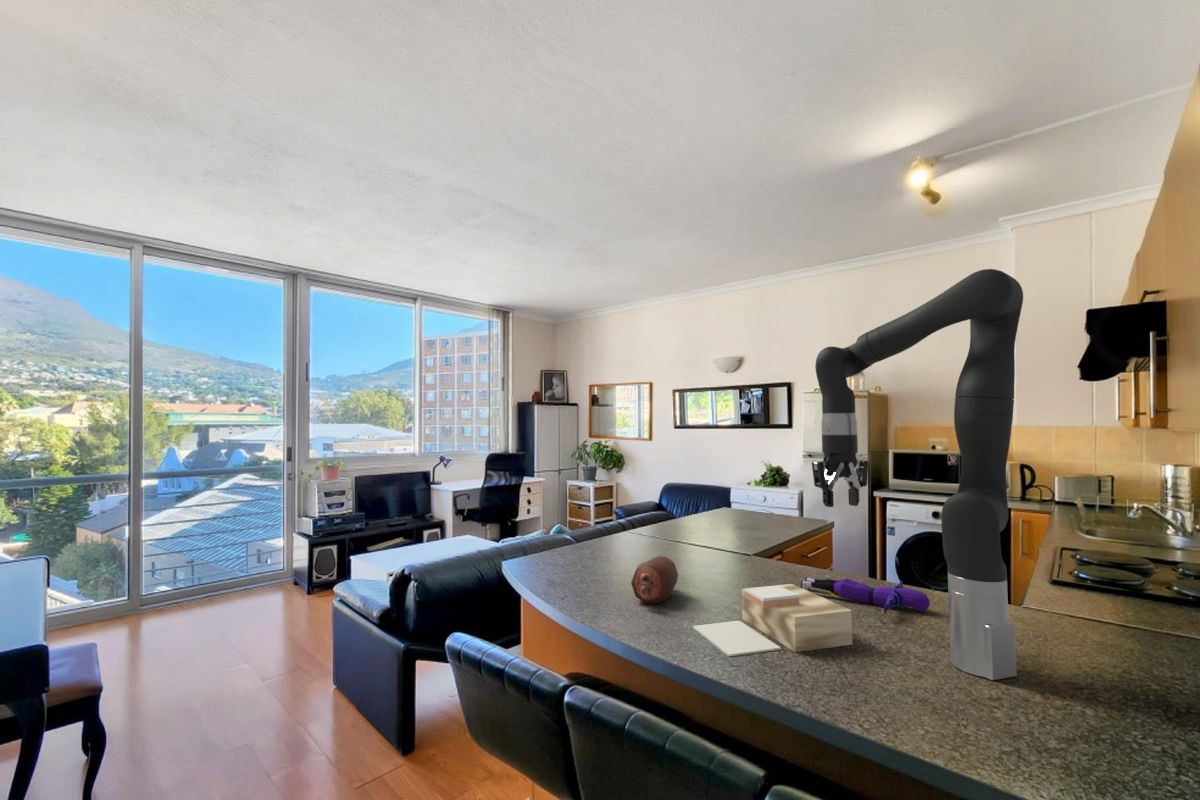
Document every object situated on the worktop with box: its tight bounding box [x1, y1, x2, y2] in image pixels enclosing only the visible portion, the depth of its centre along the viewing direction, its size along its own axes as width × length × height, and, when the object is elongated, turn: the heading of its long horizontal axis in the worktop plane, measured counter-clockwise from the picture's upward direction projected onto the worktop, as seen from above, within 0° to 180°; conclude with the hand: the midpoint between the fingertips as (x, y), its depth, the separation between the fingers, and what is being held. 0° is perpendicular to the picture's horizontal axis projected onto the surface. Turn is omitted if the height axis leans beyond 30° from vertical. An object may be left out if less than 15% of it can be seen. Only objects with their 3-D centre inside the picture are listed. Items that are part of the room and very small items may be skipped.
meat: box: [630, 555, 679, 605], centre depth 142 cm, size 20×12×10 cm, turn 156°
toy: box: [800, 576, 931, 614], centre depth 139 cm, size 27×6×30 cm
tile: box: [745, 585, 799, 608], centre depth 118 cm, size 7×9×2 cm
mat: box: [692, 620, 782, 657], centre depth 115 cm, size 16×12×1 cm
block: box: [741, 583, 853, 653], centre depth 119 cm, size 20×14×7 cm
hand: (841, 505), depth 122 cm, fingers open, 6 cm apart
